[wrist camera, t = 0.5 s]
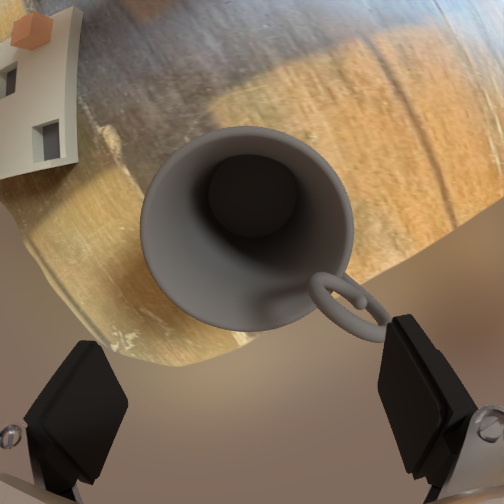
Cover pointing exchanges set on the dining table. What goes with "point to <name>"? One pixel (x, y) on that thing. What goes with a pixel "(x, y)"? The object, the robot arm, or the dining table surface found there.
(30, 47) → the block
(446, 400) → the robot arm
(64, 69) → the tray
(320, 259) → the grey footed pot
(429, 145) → the dining table surface
